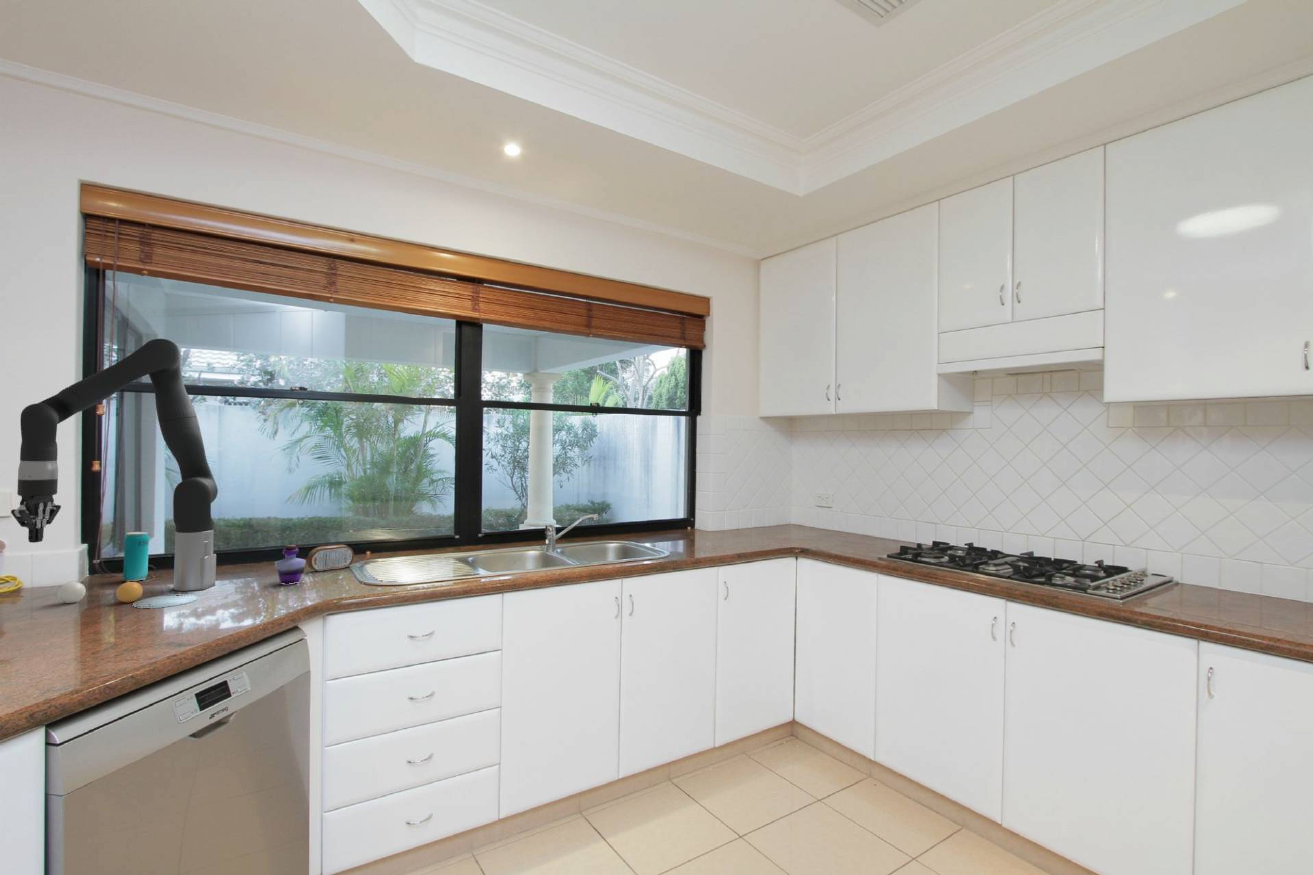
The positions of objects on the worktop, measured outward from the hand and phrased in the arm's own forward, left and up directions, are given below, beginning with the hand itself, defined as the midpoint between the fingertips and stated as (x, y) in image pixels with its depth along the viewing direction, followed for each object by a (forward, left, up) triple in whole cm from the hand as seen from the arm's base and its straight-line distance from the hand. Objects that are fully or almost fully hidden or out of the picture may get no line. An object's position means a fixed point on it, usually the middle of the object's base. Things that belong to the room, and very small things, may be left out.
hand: (35, 541), depth 162 cm
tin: (-60, -41, -17) cm, 75 cm away
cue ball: (-9, 0, -14) cm, 16 cm away
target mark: (-32, 0, -16) cm, 36 cm away
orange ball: (-23, 0, -14) cm, 27 cm away
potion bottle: (-55, -21, -17) cm, 61 cm away
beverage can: (-8, -26, -17) cm, 32 cm away
